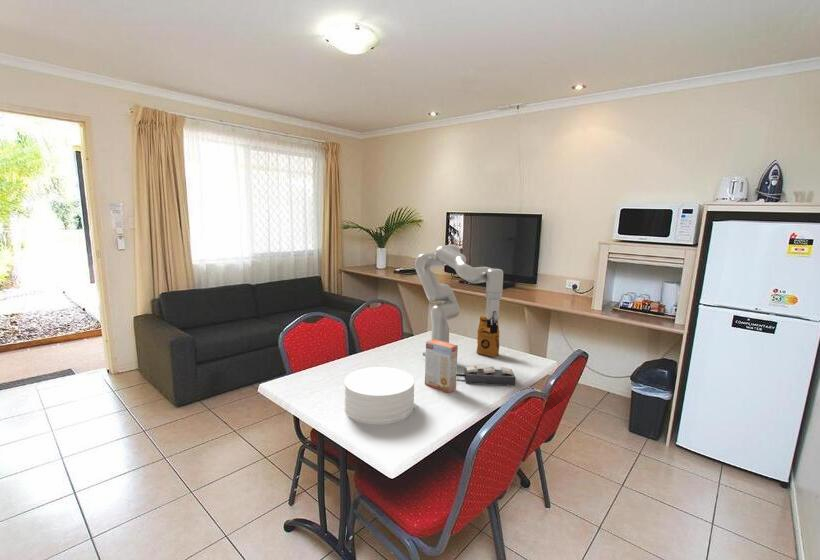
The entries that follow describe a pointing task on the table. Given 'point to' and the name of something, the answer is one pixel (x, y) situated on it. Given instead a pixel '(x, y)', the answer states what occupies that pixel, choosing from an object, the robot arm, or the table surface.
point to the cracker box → (441, 365)
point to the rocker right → (507, 370)
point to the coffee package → (487, 339)
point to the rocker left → (472, 369)
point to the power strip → (488, 377)
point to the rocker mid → (488, 369)
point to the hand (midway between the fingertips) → (491, 330)
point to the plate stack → (379, 395)
